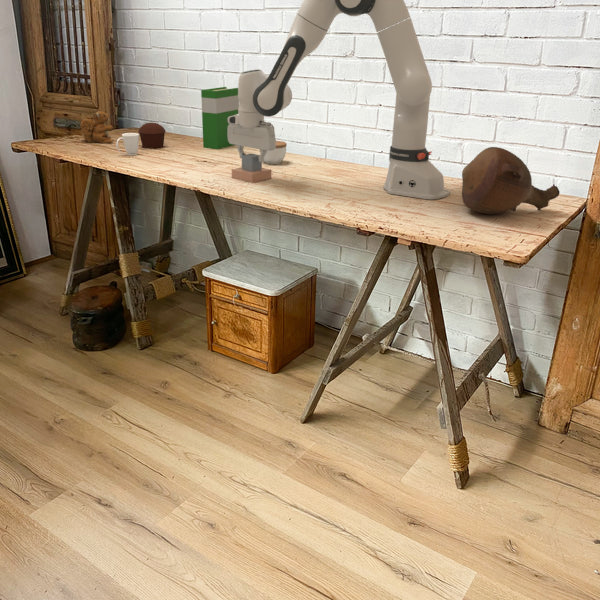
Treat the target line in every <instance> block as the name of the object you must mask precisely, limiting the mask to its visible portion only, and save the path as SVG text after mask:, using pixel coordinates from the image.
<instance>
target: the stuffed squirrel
mask: <svg viewBox="0 0 600 600" xmlns="http://www.w3.org/2000/svg"><path fill="white" fill-rule="evenodd" d="M108 122H110V116H109V114H108V113H106V112H105V111H101V110H99V111H96V112H95V115H94V120H92V119H91V118H84V119H82V120H81V122H80V129H81V132H82V134H83V139H84V140H85V141H86V142H87V143H89V144H92V143H98V144H112V143H113V138H111V136H110V135H109V132H112V131H113V130H114V126H112V124H111V125H110V124H109V125H108V124H106V123H108Z"/></svg>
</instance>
